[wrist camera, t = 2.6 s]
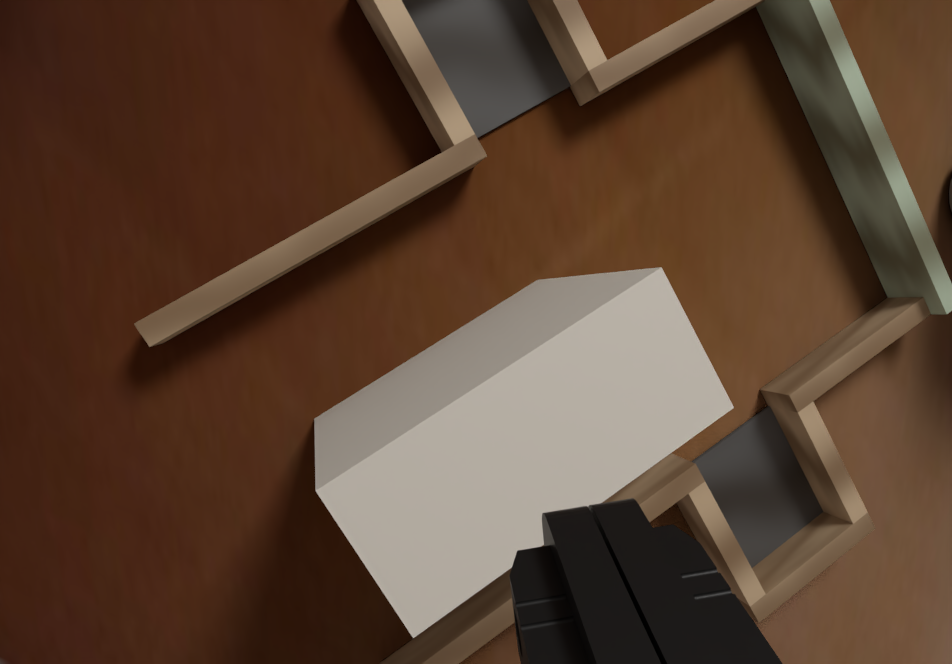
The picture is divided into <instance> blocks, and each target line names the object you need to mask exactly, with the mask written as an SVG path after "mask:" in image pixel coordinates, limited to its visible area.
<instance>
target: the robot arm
mask: <svg viewBox="0 0 952 664" xmlns="http://www.w3.org/2000/svg"><path fill="white" fill-rule="evenodd" d="M542 529H543V539H544V546H542V547H536V548H530V549H524V550H518V551H517V553H516V556H515V559H514V562H513V566H512V569H511V572H510V575H509V577H510V585H511V594H512V602H513V610H514V619H515V627H516V635H517V644H518V652H519V656H520V661H521V664H782V662H781V661H780V659H779V658H778V656H777V655H776V654H775V652H774V651H773V649H772V648H771V646H770V645H769V643H768V642H767V640H766V639H765V637H764V636H763V635H762V633H761V632H760V630H759V629H758V627H757V626H756V624H755V623H754V621H753V620H752V618H751V617H750V616H749V614H748V613H747V611H746V610H745V608H744V607H743V605H742V604H741V602H740V601H739V599H738V598H737V597H736V595H735V594H732V592H731V588H730V586H729V585H728V583H727V582H726V580H725V579H724V578H723V576H722V575H721V573H718V571H717V567H716V566H715V564H714V563H713V561H712V560H711V559H710V557H709V556H708V554H707V553H706V551H705V550H704V548H703V547H702V545H701V544H700V543H699V542H698V541H696V540H695V539H693V538H692V537H690V536H689V535H688V534H686V533H685V532H683V531H682V530H680V529H679V528H677V527H676V526H675V525H667V526H661V527H655V528H652V526H651V524H650V523H649V521H648V519H647V518H646V516H645V514H644V513H643V511H642V509H641V507H640V506H639V504H638V503H637V501H636V500H635V499H634V498H630V499H624V500H618V501H612V502H606V503H600V504H593V505H589V506H588V507H587V506H582V507H576V508H570V509H564V510H558V511H552V512H546V513H542Z"/></svg>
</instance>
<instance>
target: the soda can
mask: <svg viewBox="0 0 952 664" xmlns="http://www.w3.org/2000/svg"><path fill="white" fill-rule="evenodd" d="M949 203H950V208H951V212H952V179H951V182H950V188H949Z"/></svg>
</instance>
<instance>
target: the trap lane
mask: <svg viewBox="0 0 952 664" xmlns="http://www.w3.org/2000/svg"><path fill="white" fill-rule="evenodd" d="M357 2H358V4H359V6H360V7H361V9H362V11H363V13H364V15H365V16H366V18H367V20H368V22H369V23H370V25H371V27H372V29H373V31H374V32H375V34H376V36H377V38H378V39H379V41H380V43H381V45H382V47H383V48H384V50H385V52H386V54H387V56H388V57H389V59H390V61H391V63H392V64H393V66H394V68H395V70H396V72H397V73H398V75H399V77H400V79H401V80H402V82H403V84H404V86H405V88H406V89H407V91H408V93H409V95H410V96H411V98H412V100H413V102H414V104H415V105H416V107H417V109H418V111H419V112H420V114H421V116H422V118H423V120H424V121H425V123H426V125H427V127H428V128H429V130H430V132H431V134H432V136H433V137H434V139H435V141H436V143H437V144H438V146H439V148H440V150H441V152H442V153H440V154H438V155H436V156H435V157H433V158H431V159H429V160H427V161H426V162H424V163H422V164H420V165H418V166H417V167H415V168H413V169H411V170H409V171H408V172H406V173H404V174H402V175H400V176H399V177H397V178H395V179H393V180H391V181H390V182H388V183H386V184H384V185H382V186H381V187H379V188H377V189H375V190H373V191H372V192H370V193H368V194H366V195H364V196H363V197H361V198H359V199H357V200H356V201H354V202H352V203H350V204H348V205H347V206H345V207H343V208H341V209H339V210H338V211H336V212H334V213H332V214H330V215H329V216H327V217H325V218H323V219H321V220H320V221H318V222H316V223H314V224H312V225H311V226H309V227H307V228H305V229H303V230H302V231H300V232H298V233H296V234H294V235H293V236H291V237H289V238H287V239H285V240H284V241H282V242H280V243H278V244H276V245H275V246H273V247H271V248H269V249H267V250H266V251H264V252H262V253H260V254H258V255H257V256H255V257H253V258H251V259H249V260H248V261H246V262H244V263H242V264H240V265H239V266H237V267H235V268H233V269H231V270H230V271H228V272H226V273H224V274H222V275H221V276H219V277H217V278H215V279H213V280H212V281H210V282H208V283H206V284H204V285H203V286H201V287H199V288H197V289H196V290H194V291H192V292H190V293H188V294H187V295H185V296H183V297H181V298H179V299H178V300H176V301H174V302H172V303H170V304H169V305H167V306H165V307H163V308H161V309H160V310H158V311H156V312H154V313H152V314H151V315H149V316H147V317H145V318H143V319H142V320H140V321H138V322H136V323H134V325H135V326H136V328H137V329H138V331H139V332H140V334H141V335H142V337H143V338H144V340H145V341H146V342H147V344H148V345H149V347H152V346H155V345H159V344H163V343H164V342H166V341H168V340H170V339H171V338H173V337H175V336H177V335H178V334H180V333H182V332H184V331H185V330H187V329H189V328H191V327H193V326H194V325H196V324H198V323H200V322H201V321H203V320H205V319H207V318H208V317H210V316H212V315H214V314H215V313H217V312H219V311H221V310H222V309H224V308H226V307H228V306H230V305H231V304H233V303H235V302H237V301H238V300H240V299H242V298H244V297H245V296H247V295H249V294H251V293H252V292H254V291H256V290H258V289H259V288H261V287H263V286H265V285H267V284H268V283H270V282H272V281H274V280H275V279H277V278H279V277H281V276H282V275H284V274H286V273H288V272H289V271H291V270H293V269H295V268H296V267H298V266H300V265H302V264H304V263H305V262H307V261H309V260H311V259H312V258H314V257H316V256H318V255H319V254H321V253H323V252H325V251H326V250H328V249H330V248H332V247H333V246H335V245H337V244H339V243H341V242H342V241H344V240H346V239H348V238H349V237H351V236H353V235H355V234H356V233H358V232H360V231H362V230H363V229H365V228H367V227H369V226H370V225H372V224H374V223H376V222H377V221H379V220H381V219H383V218H385V217H386V216H388V215H390V214H392V213H393V212H395V211H397V210H399V209H400V208H402V207H404V206H406V205H407V204H409V203H411V202H413V201H414V200H416V199H418V198H420V197H422V196H423V195H425V194H427V193H429V192H430V191H432V190H434V189H436V188H437V187H439V186H441V185H443V184H444V183H446V182H448V181H450V180H451V179H453V178H455V177H457V176H459V175H460V174H462V173H464V172H466V171H467V170H469V169H471V168H473V167H474V166H476V165H477V164H478V163H479V162H480V161H482V160H483V159H484V158H485V157H486V156H487V155H486V153H485V151H484V149H483V148H482V146H481V144H480V142H479V140H478V138H479V137H481V136H482V135H484V134H486V133H488V132H490V131H491V130H493V129H495V128H497V127H498V126H500V125H502V124H504V123H506V122H507V121H509V120H511V119H513V118H515V117H516V116H518V115H520V114H522V113H524V112H525V111H527V110H529V109H531V108H533V107H534V106H536V105H538V104H540V103H541V102H543V101H545V100H547V99H549V98H550V97H552V96H554V95H556V94H558V93H559V92H561V91H563V90H565V89H567V88H568V87H570V88H571V90H572V92H573V94H574V96H575V98H576V100H577V102H578V104H579V106H582V105H584V104H585V103H587V102H589V101H591V100H592V99H594V98H596V97H598V96H599V95H601V94H603V93H605V92H607V91H608V90H610V89H612V88H614V87H615V86H617V85H619V84H621V83H622V82H624V81H626V80H628V79H629V78H631V77H633V76H635V75H636V74H638V73H640V72H642V71H644V70H645V69H647V68H649V67H651V66H652V65H654V64H656V63H658V62H659V61H661V60H663V59H665V58H666V57H668V56H670V55H672V54H673V53H675V52H677V51H679V50H680V49H682V48H684V47H686V46H688V45H689V44H691V43H693V42H695V41H696V40H698V39H700V38H702V37H703V36H705V35H707V34H709V33H710V32H712V31H714V30H716V29H717V28H719V27H721V26H723V25H725V24H726V23H728V22H730V21H732V20H733V19H735V18H737V17H739V16H740V15H742V14H744V13H746V12H747V11H749V10H751V9H753V8H754V7H756V8H757V10H758V12H759V15H760V17H761V19H762V21H763V23H764V26H765V28H766V30H767V32H768V35H769V37H770V39H771V41H772V43H773V46H774V48H775V50H776V52H777V54H778V57H779V59H780V61H781V63H782V65H783V68H784V70H785V72H786V74H787V76H788V79H789V81H790V83H791V85H792V88H793V90H794V92H795V94H796V96H797V99H798V101H799V103H800V105H801V107H802V110H803V112H804V114H805V116H806V118H807V121H808V123H809V125H810V127H811V129H812V132H813V134H814V136H815V138H816V141H817V143H818V145H819V147H820V149H821V152H822V154H823V156H824V158H825V160H826V163H827V165H828V167H829V169H830V171H831V174H832V176H833V178H834V180H835V182H836V185H837V187H838V189H839V191H840V193H841V196H842V198H843V200H844V202H845V205H846V207H847V209H848V211H849V213H850V216H851V218H852V220H853V222H854V224H855V227H856V229H857V231H858V233H859V235H860V238H861V240H862V242H863V244H864V246H865V249H866V251H867V253H868V255H869V258H870V260H871V262H872V264H873V266H874V269H875V271H876V273H877V275H878V277H879V280H880V282H881V284H882V286H883V288H884V291H885V293H886V295H887V297H888V298H886V299H885V300H884V301H882V302H881V303H879V304H878V305H877V306H875V307H874V308H872V309H871V310H870V311H868V312H867V313H865V314H864V315H863V316H861V317H860V318H859V319H857V320H856V321H854V322H853V323H852V324H850V325H849V326H847V327H846V328H845V329H843V330H842V331H840V332H839V333H838V334H836V335H835V336H834V337H832V338H831V339H829V340H828V341H827V342H825V343H824V344H822V345H821V346H820V347H818V348H817V349H815V350H814V351H813V352H811V353H810V354H808V355H807V356H806V357H804V358H803V359H802V360H800V361H799V362H797V363H796V364H795V365H793V366H792V367H790V368H789V369H788V370H786V371H785V372H783V373H782V374H781V375H779V376H778V377H777V378H775V379H774V380H772V381H771V382H770V383H768V384H767V385H765V386H764V387H763V388H761V389H760V391H761V393H762V395H763V397H764V399H765V401H766V403H767V405H768V406H767V407H766V408H764V409H763V410H762V411H760V412H759V413H758V414H756V415H755V416H753V417H752V418H751V419H749V420H748V421H747V422H745V423H744V424H743V425H741V426H740V427H738V428H737V429H736V430H734V431H733V432H732V433H730V434H729V435H727V436H726V437H725V438H723V439H722V440H721V441H719V442H718V443H716V444H715V445H714V446H712V447H711V448H710V449H708V450H707V451H705V452H704V453H703V454H701V455H700V456H699V457H697V458H696V459H694V460H693V461H692V462H691V461H688V460H686V459H683V458H681V457H679V456H676V455H674V454H670V455H668V456H667V457H665V458H664V459H663V460H661V461H660V462H658V463H657V464H656V465H654V466H653V467H651V468H650V469H649V470H647V471H646V472H645V473H643V474H642V475H640V476H639V477H638V478H636V479H635V480H633V481H632V482H631V483H629V484H628V485H626V486H625V487H624V488H622V489H621V490H619V491H618V492H617V493H615V494H614V495H613V496H611V497H610V498H608V499H607V500H606V501H604V502H603V503H606V502H612V501H618V500H624V499H630V498H634V499H635V500H636V501H637V503H638V504H639V506H640V507H641V509H642V511H643V513H644V514H645V516H646V518H647V519H648V521H649V522H651V521H652V520H653V519H655V518H656V517H658V516H659V515H660V514H662V513H663V512H664V511H666V510H667V509H668V508H670V507H671V506H672V505H674V504H675V503H677V505H678V507H679V509H680V511H681V512H682V514H683V516H684V518H685V520H686V521H687V523H688V525H689V527H690V529H691V531H692V532H693V534H694V536H695V538H696V540H697V541H698V542H699V543H700V544H701V545H702V547H703V548H704V550H705V551H706V553H707V554H708V556H709V557H710V559H711V560H712V561H713V563H714V564H715V566H716V567H717V571H718V573H721V575H722V576H723V578H724V579H725V580H726V582H727V583H728V585H729V586H730V588H731V592H732V594H735V595H736V597H737V598H738V599H739V601H740V602H741V604H742V605H743V607H744V608H745V610H746V611H747V613H748V614H749V616H750V617H751V618H753V619H754V620H756V621H757V622H758V623H760V622H761V621H762V620H763V619H765V618H766V617H767V616H768V615H769V614H771V613H772V612H773V611H774V610H776V609H777V608H778V607H779V606H781V605H782V604H783V603H784V602H785V601H787V600H788V599H789V598H790V597H792V596H793V595H794V594H795V593H797V592H798V591H799V590H800V589H801V588H803V587H804V586H805V585H806V584H808V583H809V582H810V581H811V580H813V579H814V578H815V577H816V576H818V575H819V574H820V573H821V572H822V571H824V570H825V569H826V568H827V567H829V566H830V565H831V564H832V563H834V562H835V561H836V560H837V559H838V558H840V557H841V556H842V555H843V554H845V553H846V552H847V551H848V550H850V549H851V548H852V547H853V546H854V545H856V544H857V543H858V542H859V541H861V540H862V539H863V538H864V537H866V536H867V535H868V534H869V533H871V532H872V531H873V530H874V529H875V526H874V524H873V522H872V520H871V518H870V516H869V514H868V512H867V510H866V508H865V506H864V504H863V502H862V500H861V498H860V496H859V494H858V492H857V490H856V488H855V486H854V484H853V482H852V480H851V477H850V475H849V473H848V471H847V469H846V467H845V465H844V463H843V461H842V459H841V457H840V455H839V453H838V451H837V449H836V447H835V445H834V443H833V441H832V439H831V437H830V435H829V433H828V431H827V429H826V427H825V424H824V422H823V420H822V418H821V416H820V414H819V412H818V410H817V408H816V406H815V404H814V402H813V401H814V400H816V399H817V398H818V397H820V396H821V395H822V394H824V393H825V392H827V391H828V390H829V389H831V388H832V387H833V386H835V385H836V384H837V383H839V382H840V381H841V380H843V379H844V378H845V377H847V376H848V375H849V374H851V373H852V372H854V371H855V370H856V369H858V368H859V367H860V366H862V365H863V364H864V363H866V362H867V361H868V360H870V359H871V358H872V357H874V356H875V355H877V354H878V353H879V352H881V351H882V350H883V349H885V348H886V347H887V346H889V345H890V344H891V343H893V342H894V341H895V340H897V339H898V338H899V337H901V336H902V335H904V334H905V333H906V332H908V331H909V330H910V329H912V328H913V327H914V326H916V325H917V324H918V323H920V322H921V321H922V320H924V319H925V318H927V317H928V316H929V315H931V314H948V313H949V312H951V311H952V283H951V280H950V278H949V276H948V274H947V271H946V269H945V267H944V264H943V262H942V260H941V257H940V255H939V253H938V250H937V248H936V246H935V243H934V241H933V239H932V236H931V234H930V232H929V230H928V227H927V225H926V223H925V220H924V218H923V216H922V213H921V211H920V209H919V206H918V204H917V202H916V199H915V197H914V195H913V193H912V190H911V188H910V186H909V183H908V181H907V179H906V176H905V174H904V172H903V169H902V167H901V165H900V162H899V160H898V158H897V155H896V153H895V151H894V149H893V146H892V144H891V142H890V139H889V137H888V135H887V132H886V130H885V128H884V125H883V123H882V121H881V118H880V116H879V114H878V111H877V109H876V107H875V105H874V102H873V100H872V98H871V95H870V93H869V91H868V88H867V86H866V84H865V81H864V79H863V77H862V74H861V72H860V70H859V67H858V65H857V63H856V61H855V58H854V56H853V54H852V51H851V49H850V47H849V44H848V42H847V40H846V37H845V35H844V33H843V30H842V28H841V26H840V23H839V21H838V19H837V17H836V14H835V12H834V10H833V7H832V5H831V3H830V0H715V1H713V2H711V3H710V4H708V5H706V6H704V7H702V8H701V9H699V10H697V11H695V12H693V13H692V14H690V15H688V16H686V17H684V18H683V19H681V20H679V21H677V22H675V23H674V24H672V25H670V26H668V27H667V28H665V29H663V30H661V31H659V32H658V33H656V34H654V35H652V36H650V37H649V38H647V39H645V40H643V41H641V42H640V43H638V44H636V45H634V46H632V47H631V48H629V49H627V50H625V51H623V52H622V53H620V54H618V55H616V56H614V57H613V58H611V59H609V60H607V59H606V57H605V55H604V53H603V51H602V49H601V47H600V45H599V43H598V41H597V39H596V37H595V35H594V33H593V31H592V29H591V27H590V25H589V23H588V21H587V19H586V17H585V15H584V13H583V11H582V9H581V7H580V5H579V3H578V1H577V0H357ZM543 546H544V545H543ZM511 569H512V568H511ZM511 569H510V570H508V571H507V572H506V573H504V574H503V575H501V576H500V577H499V578H497V579H496V580H494V581H493V582H492V583H490V584H489V585H487V586H486V587H485V588H483V589H482V590H481V591H479V592H478V593H476V594H475V595H474V596H472V597H471V598H469V599H468V600H467V601H465V602H464V603H462V604H461V605H460V606H458V607H457V608H456V609H454V610H453V611H451V612H450V613H449V614H447V615H446V616H444V617H443V618H442V619H440V620H439V621H437V622H436V623H435V624H433V625H432V626H430V627H429V628H428V629H426V630H425V631H424V632H422V633H421V634H419V635H418V636H417V637H415V638H414V639H412V640H411V641H410V642H408V643H407V644H405V645H404V646H403V647H401V648H400V649H399V650H397V651H396V652H394V653H393V654H392V655H390V656H389V657H387V658H386V659H385V660H383V661H382V662H380V664H459V663H460V662H462V661H463V660H464V659H466V658H467V657H468V656H470V655H471V654H472V653H474V652H475V651H476V650H478V649H479V648H480V647H482V646H483V645H485V644H486V643H487V642H489V641H490V640H491V639H493V638H494V637H495V636H497V635H498V634H499V633H501V632H502V631H503V630H505V629H506V628H508V627H509V626H510V625H512V624H513V623H514V622H515V619H514V610H513V602H512V594H511V585H510V577H509V575H510V572H511Z"/></svg>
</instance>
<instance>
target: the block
mask: <svg viewBox="0 0 952 664" xmlns="http://www.w3.org/2000/svg"><path fill="white" fill-rule="evenodd" d="M733 408H734V407H733V405H732V403H731V401H730V399H729V397H728V395H727V393H726V391H725V389H724V388H723V386H722V384H721V382H720V380H719V378H718V376H717V374H716V372H715V370H714V368H713V366H712V364H711V362H710V360H709V358H708V357H707V355H706V353H705V351H704V349H703V347H702V345H701V343H700V341H699V339H698V337H697V335H696V333H695V331H694V329H693V327H692V326H691V324H690V322H689V320H688V318H687V316H686V314H685V312H684V310H683V308H682V306H681V304H680V302H679V300H678V298H677V296H676V295H675V293H674V291H673V289H672V287H671V285H670V283H669V281H668V279H667V277H666V275H665V273H664V271H663V269H662V267H660V268H650V269H640V270H630V271H621V272H611V273H601V274H591V275H582V276H572V277H562V278H552V279H543V280H537V281H535V282H534V283H532V284H530V285H529V286H527V287H525V288H524V289H522V290H521V291H519V292H517V293H516V294H514V295H513V296H511V297H509V298H508V299H506V300H505V301H503V302H501V303H500V304H498V305H497V306H495V307H493V308H492V309H490V310H488V311H487V312H485V313H484V314H482V315H480V316H479V317H477V318H476V319H474V320H472V321H471V322H469V323H468V324H466V325H464V326H463V327H461V328H460V329H458V330H456V331H455V332H453V333H451V334H450V335H448V336H447V337H445V338H443V339H442V340H440V341H439V342H437V343H435V344H434V345H432V346H431V347H429V348H427V349H426V350H424V351H423V352H421V353H419V354H418V355H416V356H415V357H413V358H411V359H410V360H408V361H406V362H405V363H403V364H402V365H400V366H398V367H397V368H395V369H394V370H392V371H390V372H389V373H387V374H386V375H384V376H382V377H381V378H379V379H378V380H376V381H374V382H373V383H371V384H369V385H368V386H366V387H365V388H363V389H361V390H360V391H358V392H357V393H355V394H353V395H352V396H350V397H349V398H347V399H345V400H344V401H342V402H341V403H339V404H337V405H336V406H334V407H332V408H331V409H329V410H328V411H326V412H324V413H323V414H321V415H320V416H318V417H316V418H315V419H314V430H315V491H316V492H317V494H318V495H319V497H320V498H321V500H322V501H323V503H324V504H325V506H326V508H327V509H328V511H329V512H330V514H331V515H332V517H333V518H334V520H335V521H336V523H337V524H338V526H339V527H340V529H341V530H342V532H343V533H344V535H345V536H346V538H347V539H348V541H349V542H350V544H351V545H352V547H353V548H354V550H355V551H356V553H357V554H358V556H359V557H360V559H361V560H362V562H363V563H364V565H365V566H366V568H367V569H368V571H369V572H370V574H371V575H372V577H373V578H374V580H375V581H376V583H377V584H378V586H379V587H380V589H381V590H382V592H383V593H384V595H385V596H386V598H387V599H388V601H389V602H390V604H391V606H392V607H393V609H394V610H395V612H396V613H397V615H398V616H399V618H400V619H401V621H402V622H403V624H404V625H405V627H406V628H407V630H408V631H409V633H410V634H411V636H412V637H413V638H414V637H416V636H417V635H419V634H420V633H421V632H423V631H424V630H426V629H427V628H428V627H430V626H431V625H433V624H434V623H435V622H437V621H438V620H440V619H441V618H442V617H444V616H445V615H446V614H448V613H449V612H451V611H452V610H453V609H455V608H456V607H458V606H459V605H460V604H462V603H463V602H465V601H466V600H467V599H469V598H470V597H471V596H473V595H474V594H476V593H477V592H478V591H480V590H481V589H483V588H484V587H485V586H487V585H488V584H490V583H491V582H492V581H494V580H495V579H496V578H498V577H499V576H501V575H502V574H503V573H505V572H506V571H508V570H509V569H510V568H512V566H513V562H514V559H515V556H516V553H517V551H518V550H524V549H530V548H536V547H541V546H542V545H544V539H543V529H542V513H546V512H552V511H558V510H564V509H570V508H576V507H582V506H587V507H588V506H589V505H593V504H600V503H602V502H604V501H605V500H606V499H608V498H609V497H610V496H612V495H613V494H615V493H616V492H617V491H619V490H620V489H622V488H623V487H624V486H626V485H627V484H629V483H630V482H631V481H633V480H634V479H635V478H637V477H638V476H640V475H641V474H642V473H644V472H645V471H647V470H648V469H649V468H651V467H652V466H654V465H655V464H656V463H658V462H659V461H660V460H662V459H663V458H665V457H666V456H667V455H669V454H670V453H672V452H673V451H674V450H676V449H677V448H679V447H680V446H681V445H683V444H684V443H685V442H687V441H688V440H690V439H691V438H692V437H694V436H695V435H697V434H698V433H699V432H701V431H702V430H704V429H705V428H706V427H708V426H709V425H711V424H712V423H713V422H715V421H716V420H717V419H719V418H720V417H722V416H723V415H724V414H726V413H727V412H729V411H730V410H731V409H733Z"/></svg>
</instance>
